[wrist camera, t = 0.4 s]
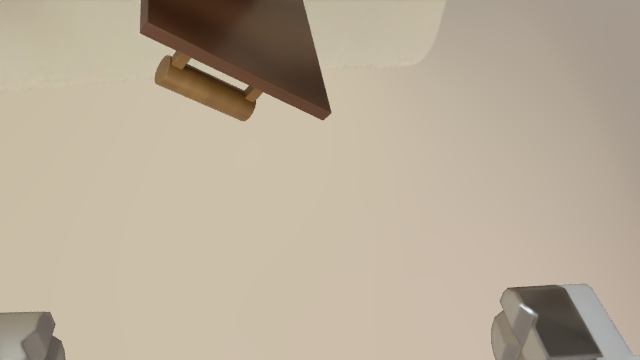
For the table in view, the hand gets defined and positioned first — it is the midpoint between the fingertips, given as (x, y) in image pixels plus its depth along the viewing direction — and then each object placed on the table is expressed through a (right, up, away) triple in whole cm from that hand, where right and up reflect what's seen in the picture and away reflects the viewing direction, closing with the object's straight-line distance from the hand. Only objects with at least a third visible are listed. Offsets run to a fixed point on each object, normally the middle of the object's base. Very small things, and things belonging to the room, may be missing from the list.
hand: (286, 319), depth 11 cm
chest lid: (-5, +15, +27) cm, 31 cm away
